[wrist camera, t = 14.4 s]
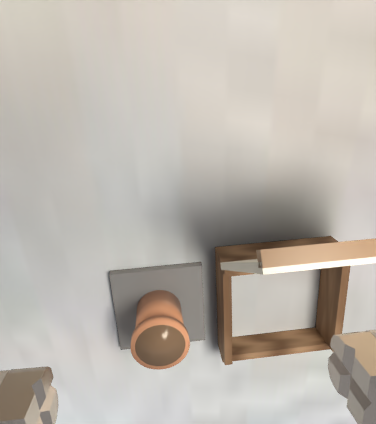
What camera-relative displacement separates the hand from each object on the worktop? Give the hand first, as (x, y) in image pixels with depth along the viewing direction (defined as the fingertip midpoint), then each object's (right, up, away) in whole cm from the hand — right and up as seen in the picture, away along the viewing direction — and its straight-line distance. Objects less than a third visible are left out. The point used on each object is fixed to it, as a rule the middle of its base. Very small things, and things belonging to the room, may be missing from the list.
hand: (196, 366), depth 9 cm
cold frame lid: (+12, 0, +20) cm, 24 cm away
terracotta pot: (-4, -9, +34) cm, 36 cm away
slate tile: (-4, -8, +35) cm, 37 cm away
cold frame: (+12, -7, +37) cm, 39 cm away
